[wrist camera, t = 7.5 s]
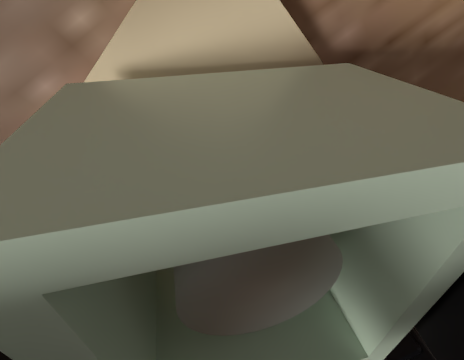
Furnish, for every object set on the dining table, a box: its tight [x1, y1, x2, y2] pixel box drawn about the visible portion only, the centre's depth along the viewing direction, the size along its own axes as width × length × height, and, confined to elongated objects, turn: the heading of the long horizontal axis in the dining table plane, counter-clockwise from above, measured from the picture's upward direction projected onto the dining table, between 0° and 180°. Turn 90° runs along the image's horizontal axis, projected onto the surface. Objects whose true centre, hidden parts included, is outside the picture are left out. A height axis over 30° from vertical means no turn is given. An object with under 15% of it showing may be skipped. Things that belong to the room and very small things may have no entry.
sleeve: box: [0, 63, 464, 360], centre depth 7 cm, size 7×7×5 cm
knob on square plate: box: [84, 0, 343, 336], centre depth 8 cm, size 10×10×6 cm
